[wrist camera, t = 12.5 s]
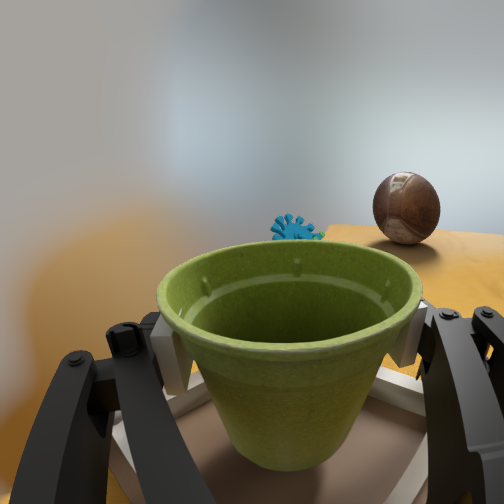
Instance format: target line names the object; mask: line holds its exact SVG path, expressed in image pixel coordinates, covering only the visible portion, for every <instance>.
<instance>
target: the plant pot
mask: <svg viewBox="0 0 504 504" xmlns="http://www.w3.org/2000/svg"><path fill="white" fill-rule="evenodd" d="M422 294H423V285H422V282H421V280H420V277H419V276H418V274H417V273H416V271H415V270H414V269H413V268H412V267H411V266H410V265H409V264H407V263H406V262H404V261H403V260H401V259H399V258H398V257H396V256H394V255H392V254H389V253H387V252H384V251H381V250H378V249H374V248H370V247H366V246H362V245H357V244H352V243H346V242H336V241H327V240H307V239H302V240H299V239H296V240H274V241H264V242H254V243H248V244H243V245H237V246H231V247H227V248H222V249H218V250H215V251H212V252H209V253H205V254H202V255H199V256H197V257H195V258H192V259H191V260H188V261H187V262H185V263H183V264H181V265H179V266H177V267H176V268H174V269H173V270H171V271H170V272H169V273H168V274H167V275H166V276H165V277H164V278H163V279H162V282H161V283H160V284H159V286H158V289H157V293H156V300H157V304H158V308H159V311H160V313H161V315H162V317H163V319H164V320H165V322H166V323H167V324H168V325H169V326H170V327H171V328H172V329H173V330H174V331H175V332H177V333H178V334H179V336H180V338H181V341H182V343H183V345H184V347H185V349H186V351H187V352H188V353H189V355H190V356H191V357H192V358H193V360H195V361H196V364H197V366H198V368H199V371H200V373H201V375H202V378H203V380H204V382H205V384H206V387H207V389H208V391H209V393H210V396H211V398H212V400H213V403H214V405H215V407H216V409H217V412H218V414H219V416H220V418H221V420H222V423H223V425H224V427H225V429H226V431H227V433H228V436H229V438H230V440H231V442H232V444H233V445H234V447H235V448H236V450H237V451H238V452H239V453H240V454H242V455H243V456H245V457H246V458H248V459H249V460H251V461H252V462H254V463H255V464H257V465H259V466H260V467H263V468H265V469H269V470H274V471H283V472H290V471H300V470H304V469H308V468H311V467H314V466H317V465H319V464H321V463H323V462H325V461H326V460H328V459H329V458H330V457H331V456H332V455H333V454H334V453H335V452H336V451H337V450H338V449H339V448H340V447H341V446H342V444H343V443H344V441H345V440H346V438H347V436H348V434H349V432H350V430H351V428H352V426H353V424H354V422H355V420H356V418H357V416H358V414H359V412H360V410H361V408H362V406H363V404H364V402H365V399H366V397H367V395H368V393H369V391H370V389H371V386H372V384H373V382H374V380H375V377H376V375H377V373H378V370H379V368H380V365H381V363H382V361H383V358H384V356H385V355H386V354H387V353H388V352H389V350H390V349H391V348H392V346H393V345H394V343H395V341H396V339H397V337H398V334H399V332H400V329H401V328H402V327H404V326H405V325H406V324H407V323H408V322H409V321H410V320H411V319H412V317H413V316H414V315H415V313H416V312H417V310H418V308H419V306H420V303H421V299H422ZM181 308H182V310H181ZM180 310H181V315H180V316H179V312H180Z"/></svg>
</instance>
